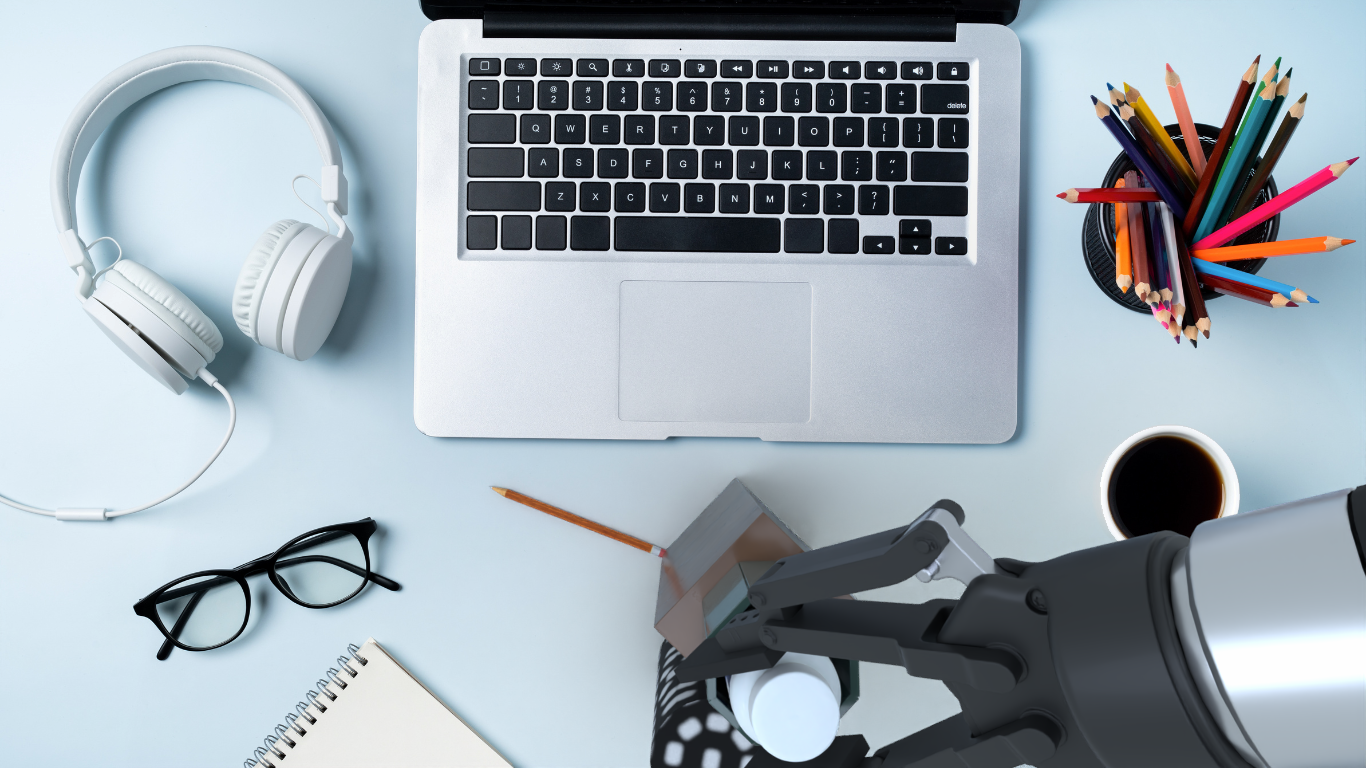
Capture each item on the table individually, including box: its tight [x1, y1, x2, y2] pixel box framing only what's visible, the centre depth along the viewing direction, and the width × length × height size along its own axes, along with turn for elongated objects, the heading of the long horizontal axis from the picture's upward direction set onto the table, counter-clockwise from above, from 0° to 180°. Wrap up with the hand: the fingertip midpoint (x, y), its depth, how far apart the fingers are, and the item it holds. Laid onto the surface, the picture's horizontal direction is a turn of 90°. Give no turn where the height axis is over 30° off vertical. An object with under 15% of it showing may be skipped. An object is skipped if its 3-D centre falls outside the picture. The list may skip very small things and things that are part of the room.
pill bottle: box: [725, 607, 841, 762], centre depth 39 cm, size 5×5×10 cm
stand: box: [653, 477, 858, 658], centre depth 60 cm, size 10×10×24 cm
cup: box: [702, 561, 861, 746], centre depth 44 cm, size 8×8×8 cm
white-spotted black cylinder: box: [649, 638, 762, 768], centre depth 62 cm, size 8×8×20 cm
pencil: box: [489, 486, 667, 559], centre depth 72 cm, size 1×18×1 cm, turn 69°
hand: (724, 713), depth 39 cm, fingers closed on pill bottle, 5 cm apart
